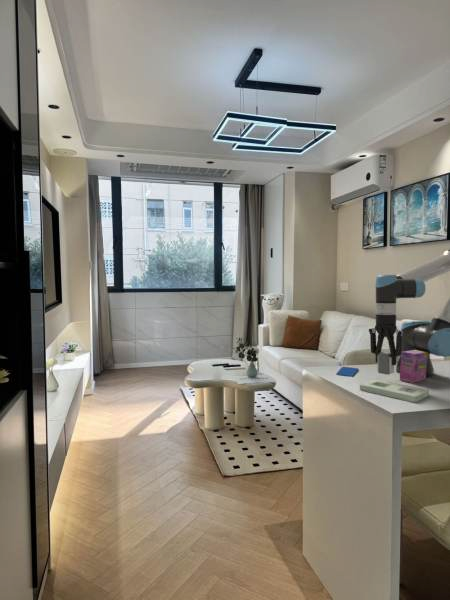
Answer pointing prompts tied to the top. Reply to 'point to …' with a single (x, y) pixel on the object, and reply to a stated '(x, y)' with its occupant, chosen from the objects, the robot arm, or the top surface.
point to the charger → (383, 363)
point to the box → (413, 366)
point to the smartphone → (347, 371)
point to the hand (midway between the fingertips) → (385, 371)
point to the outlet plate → (395, 390)
